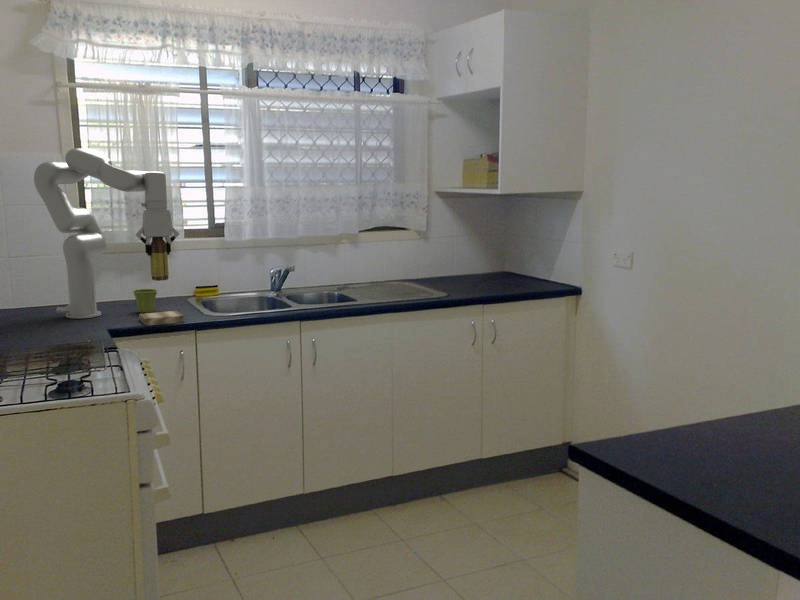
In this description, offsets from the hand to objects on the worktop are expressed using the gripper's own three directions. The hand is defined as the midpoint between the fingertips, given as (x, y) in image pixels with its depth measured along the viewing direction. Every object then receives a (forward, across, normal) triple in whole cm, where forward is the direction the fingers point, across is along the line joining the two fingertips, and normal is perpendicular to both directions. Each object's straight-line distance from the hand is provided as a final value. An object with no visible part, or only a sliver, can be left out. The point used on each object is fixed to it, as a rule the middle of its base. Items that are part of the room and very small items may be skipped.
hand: (158, 254), depth 275 cm
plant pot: (+25, -1, +22) cm, 34 cm away
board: (+25, 0, 0) cm, 25 cm away
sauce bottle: (+10, 0, 0) cm, 10 cm away
